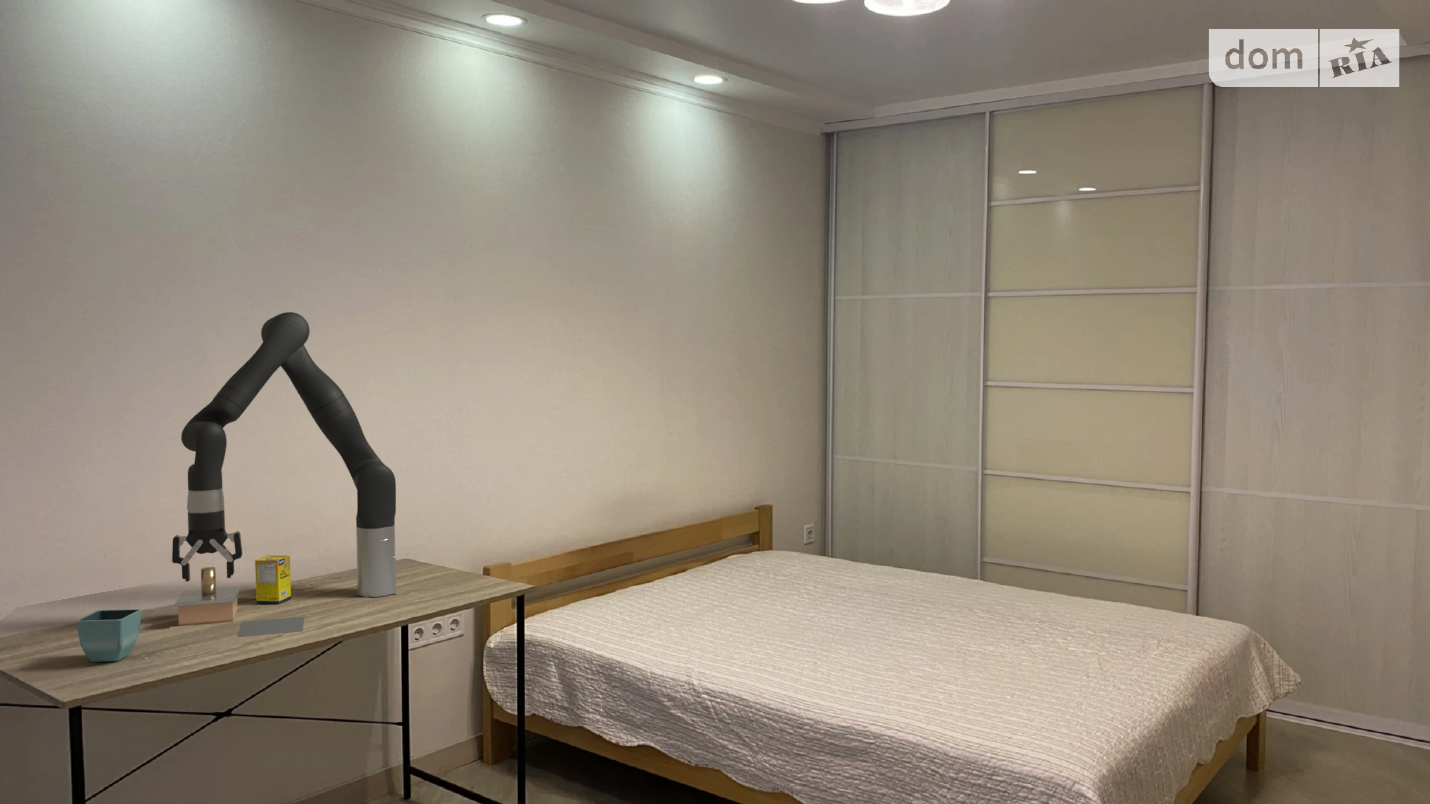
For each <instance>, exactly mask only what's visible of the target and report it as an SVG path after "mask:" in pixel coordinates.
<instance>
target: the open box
mask: <svg viewBox="0 0 1430 804" xmlns="http://www.w3.org/2000/svg"><path fill="white" fill-rule="evenodd" d="M177 609H178V610H177V611H178V615H177V616H178V617H177V618H178V627H187V626H197V625H209V624H220V623H221V624H222V623H233V622H234V621H235V618H236V615H237V614H238V613H237V612H238V610H239V609H238V598H237V599H236V601H235V602H225V603H212V604H199V605H186V606H177Z"/></svg>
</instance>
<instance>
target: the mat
mask: <svg viewBox="0 0 1430 804" xmlns="http://www.w3.org/2000/svg"><path fill="white" fill-rule="evenodd" d="M304 623H305V616H296V617H285V618H283V617H282V618H272V619H258V620H248V621H247V620H246V621H242V622H241V624H240V627H239V631H238V634H237V638H242V637H255V636H266V635H268V636H269V635H276V634H277V635H278V634H288V633H290V634H291V633H299V632H300V633H301V632H303V631H304Z"/></svg>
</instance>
